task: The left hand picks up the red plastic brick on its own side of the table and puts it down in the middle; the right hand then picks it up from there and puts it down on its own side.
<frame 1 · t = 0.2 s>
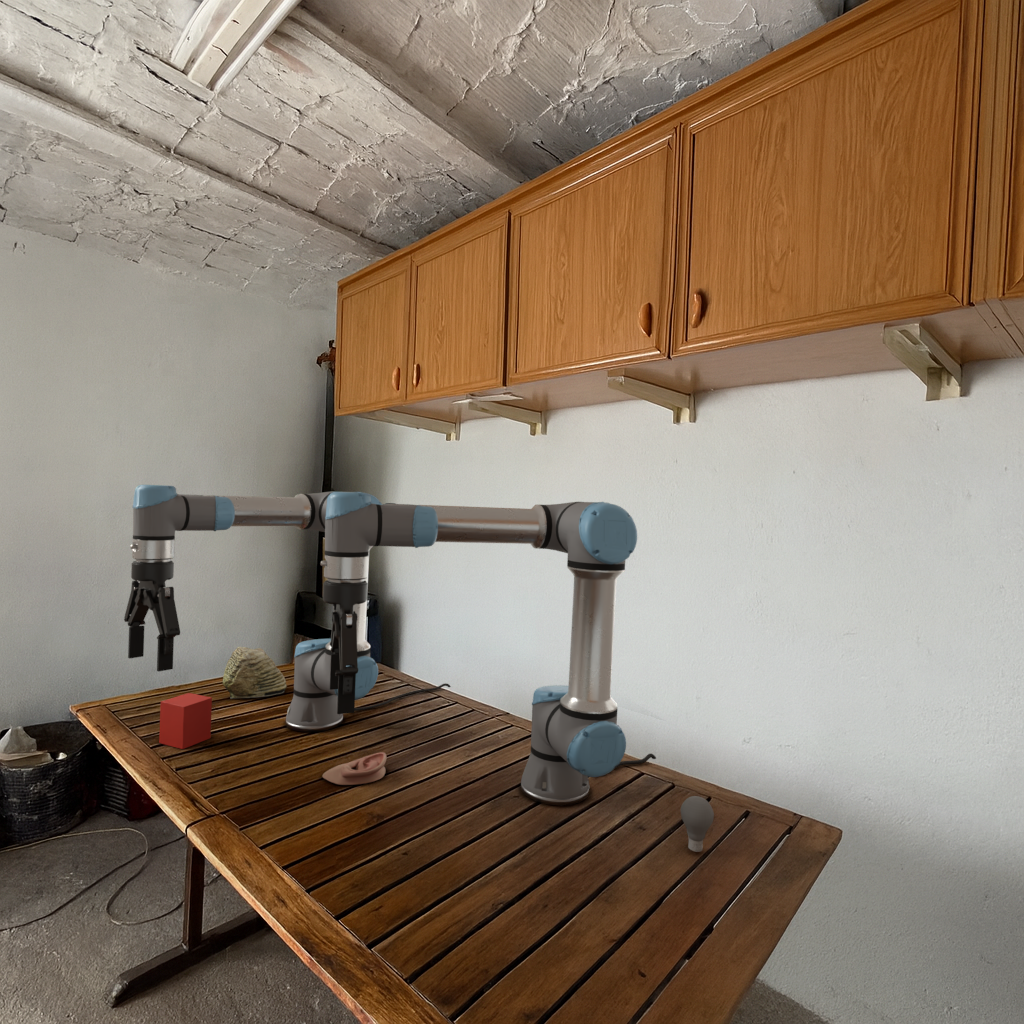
left hand: (149, 663, 130), 28 cm above the table, tool pointing down, fingers open, 13 cm apart
right hand: (341, 700, 111), 28 cm above the table, tool pointing down, fingers open, 13 cm apart
fossil: (254, 694, 198), on the table
brick: (185, 740, 160), on the table
anatomical model: (354, 775, 144), on the table
light bulb: (695, 851, 119), on the table
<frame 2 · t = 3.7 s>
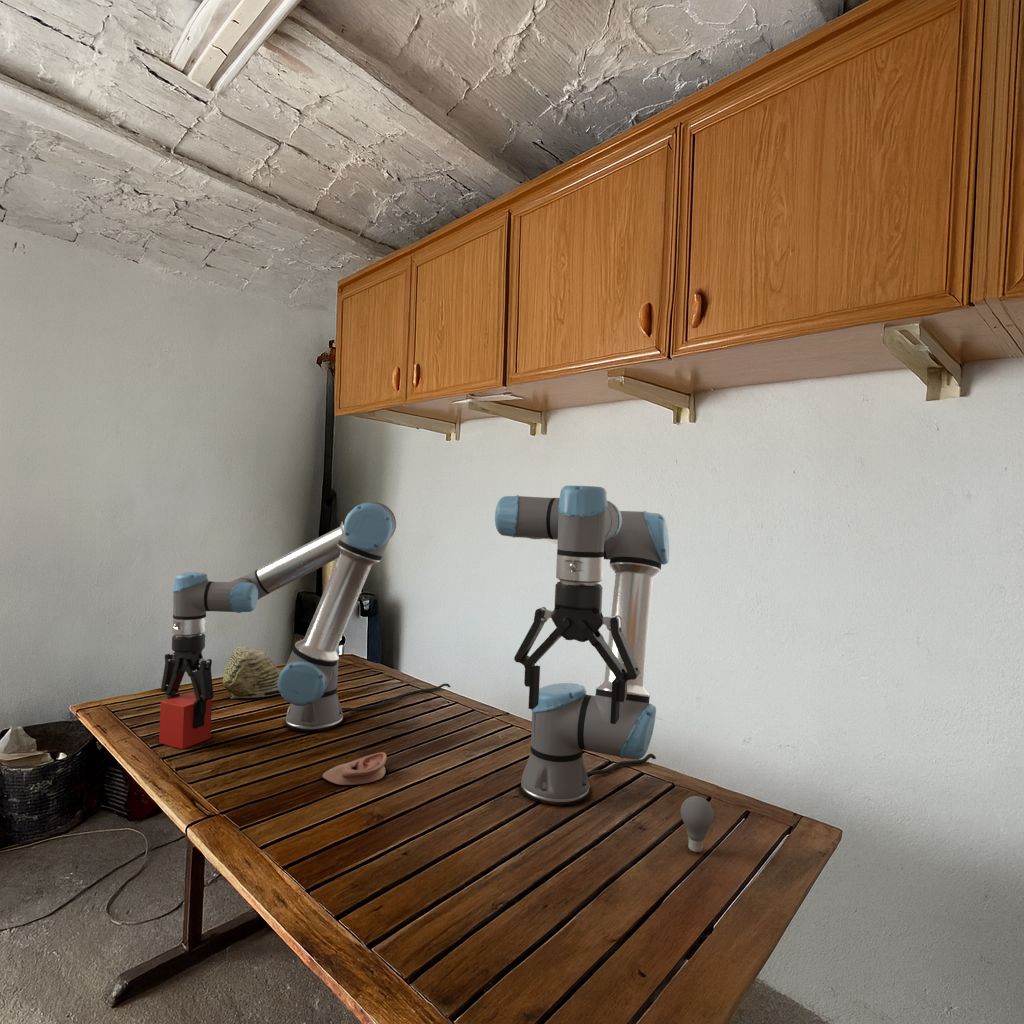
left hand: (185, 723, 160), 4 cm above the table, tool pointing down, fingers closed on brick, 8 cm apart
right hand: (573, 714, 102), 30 cm above the table, tool pointing down, fingers open, 13 cm apart
brick: (185, 740, 160), on the table, touching left hand
everything else where it was.
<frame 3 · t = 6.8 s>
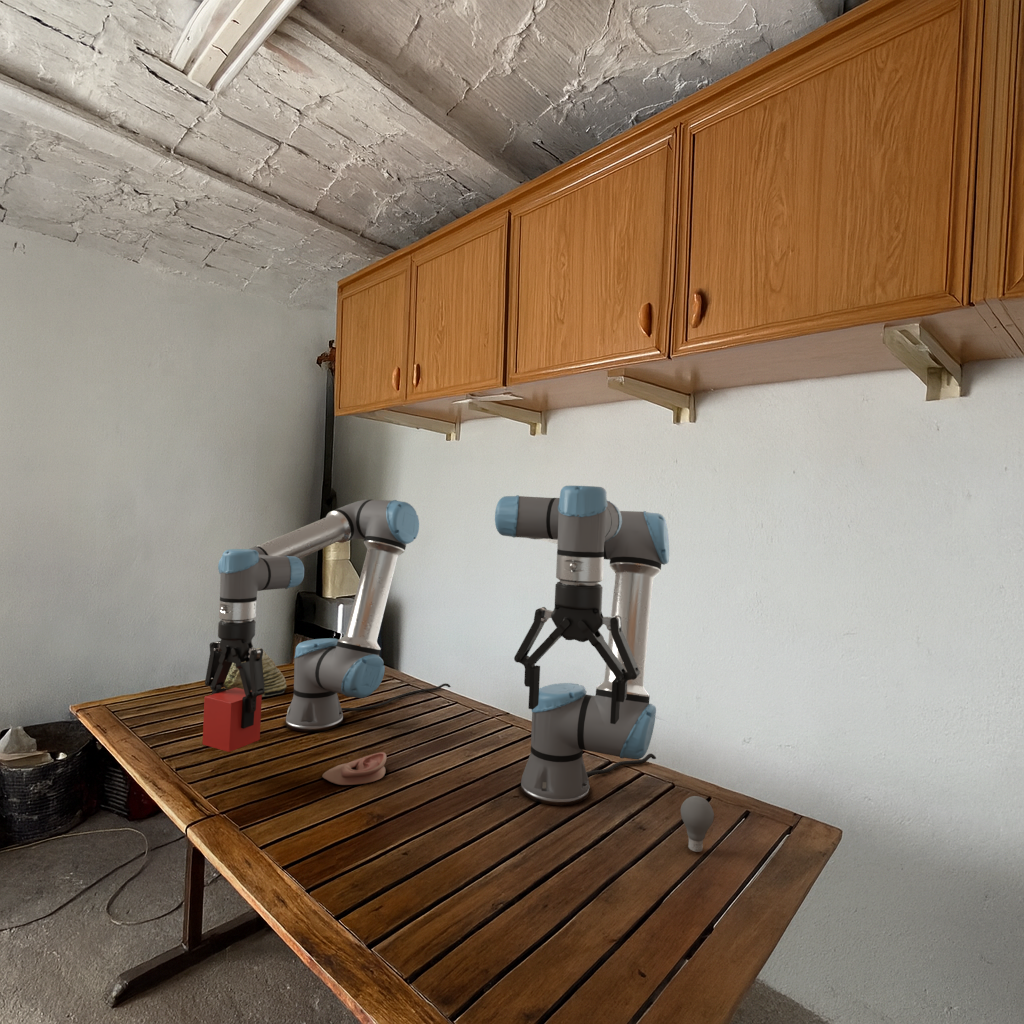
left hand: (232, 722, 139), 13 cm above the table, tool pointing down, fingers closed on brick, 8 cm apart
right hand: (573, 714, 102), 30 cm above the table, tool pointing down, fingers open, 13 cm apart
brick: (231, 742, 139), point 8 cm above the table, touching left hand
everything else where it was.
when the left hand's fingers open (6 cm above the table, at t = 10.0 s): brick drops 1 cm, on the table.
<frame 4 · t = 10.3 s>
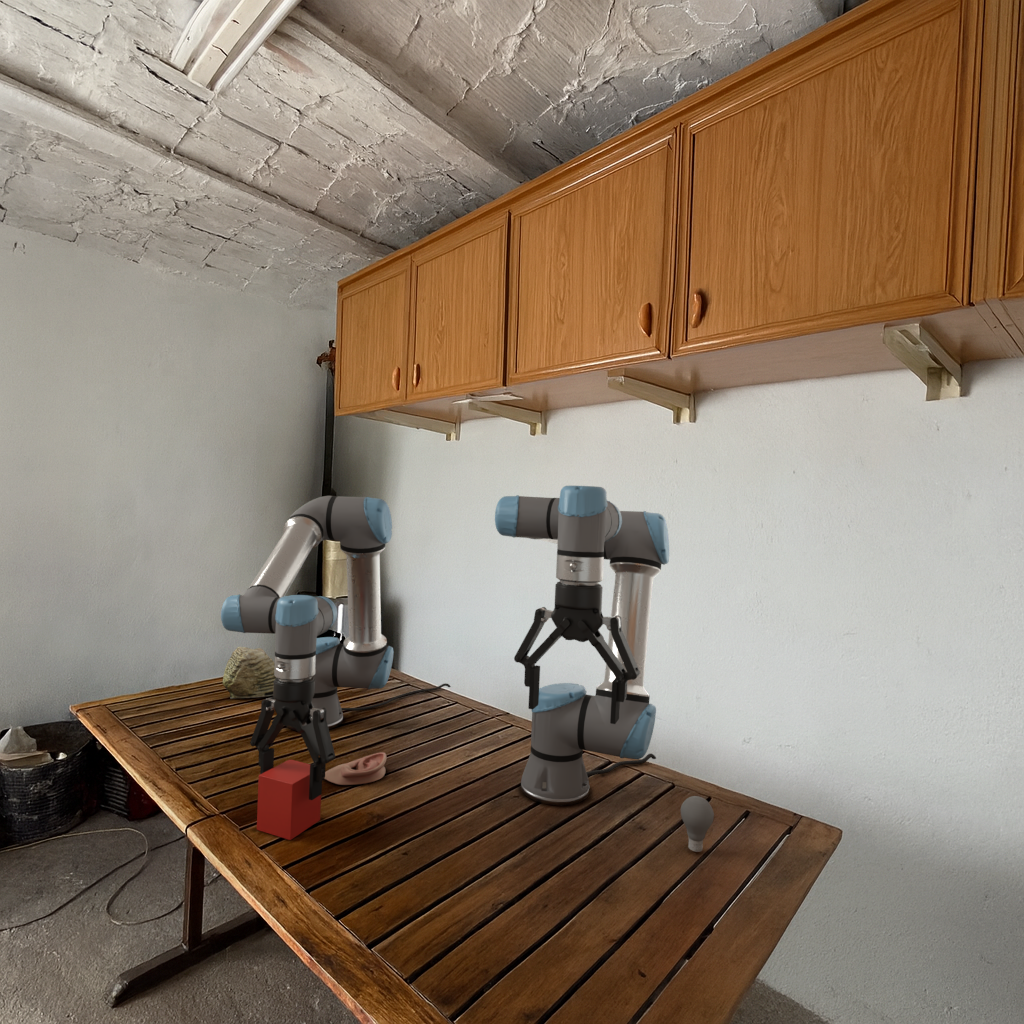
left hand: (290, 790, 122), 7 cm above the table, tool pointing down, fingers open, 11 cm apart
right hand: (573, 714, 102), 30 cm above the table, tool pointing down, fingers open, 13 cm apart
brick: (289, 824, 122), on the table
everything else where it was.
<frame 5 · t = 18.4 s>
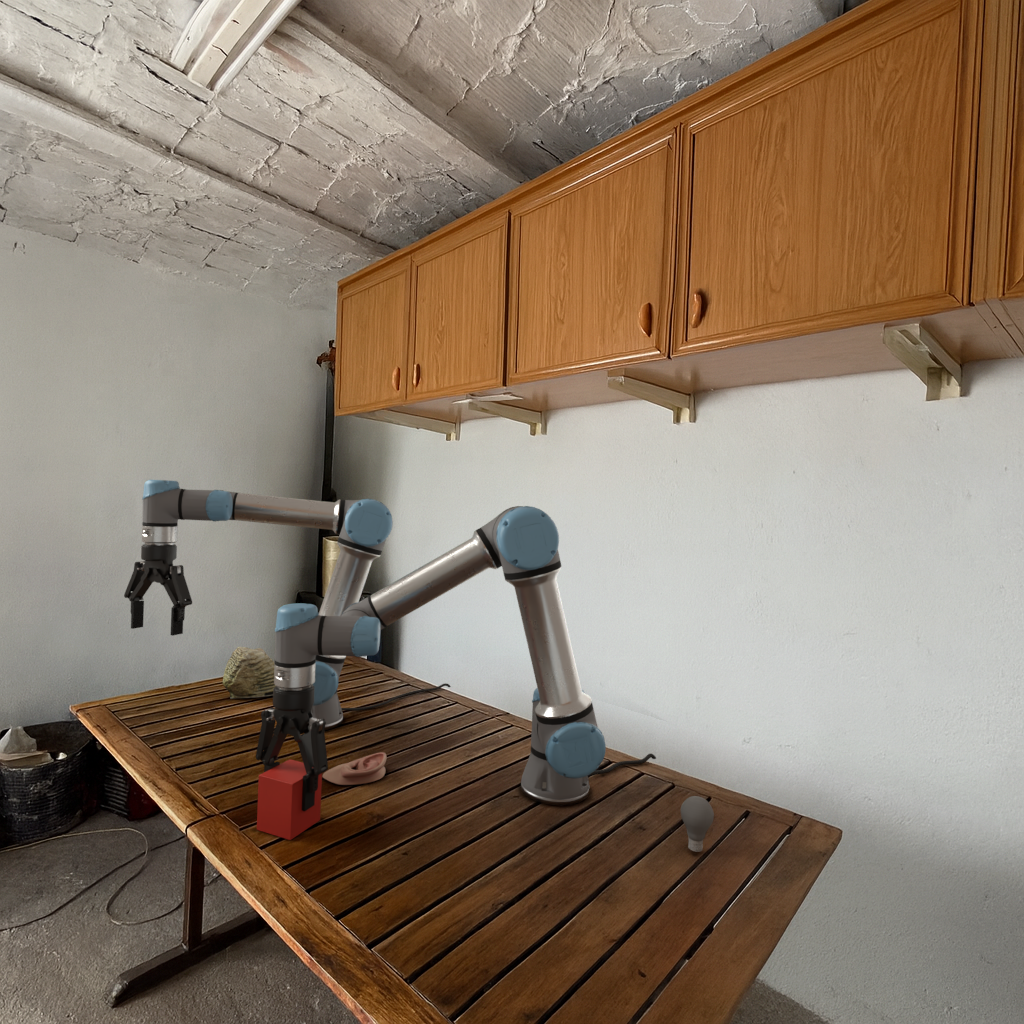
left hand: (156, 631, 153), 29 cm above the table, tool pointing down, fingers open, 13 cm apart
right hand: (289, 802, 122), 4 cm above the table, tool pointing down, fingers closed on brick, 8 cm apart
brick: (289, 824, 122), on the table, touching right hand
everything else where it was.
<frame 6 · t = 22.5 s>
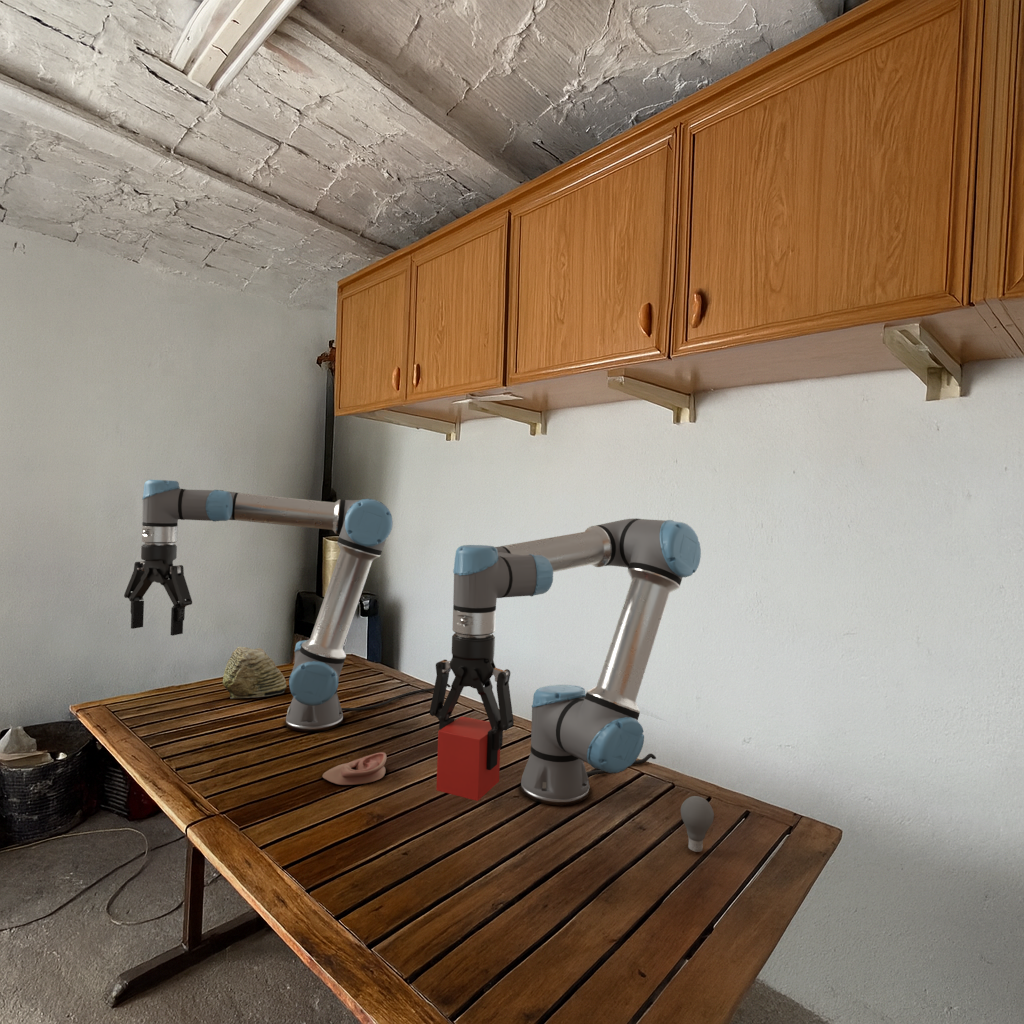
left hand: (156, 631, 153), 29 cm above the table, tool pointing down, fingers open, 13 cm apart
right hand: (469, 761, 112), 18 cm above the table, tool pointing down, fingers closed on brick, 8 cm apart
brick: (468, 785, 112), point 14 cm above the table, touching right hand
everything else where it was.
when the right hand's fingers open (6 cm above the table, at t = 26.8 s): brick drops 1 cm, on the table.
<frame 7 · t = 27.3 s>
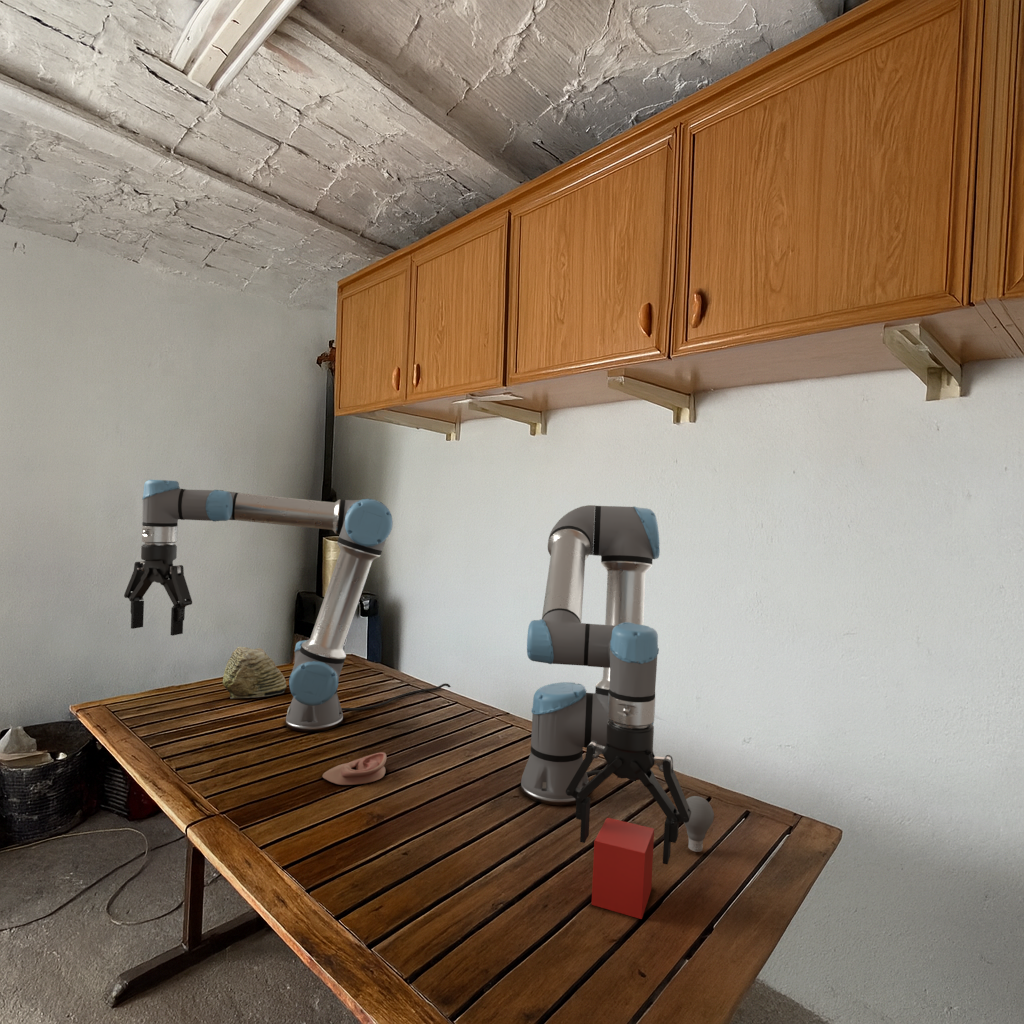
left hand: (156, 631, 153), 29 cm above the table, tool pointing down, fingers open, 13 cm apart
right hand: (624, 849, 104), 8 cm above the table, tool pointing down, fingers open, 13 cm apart
brick: (622, 897, 104), on the table
everything else where it was.
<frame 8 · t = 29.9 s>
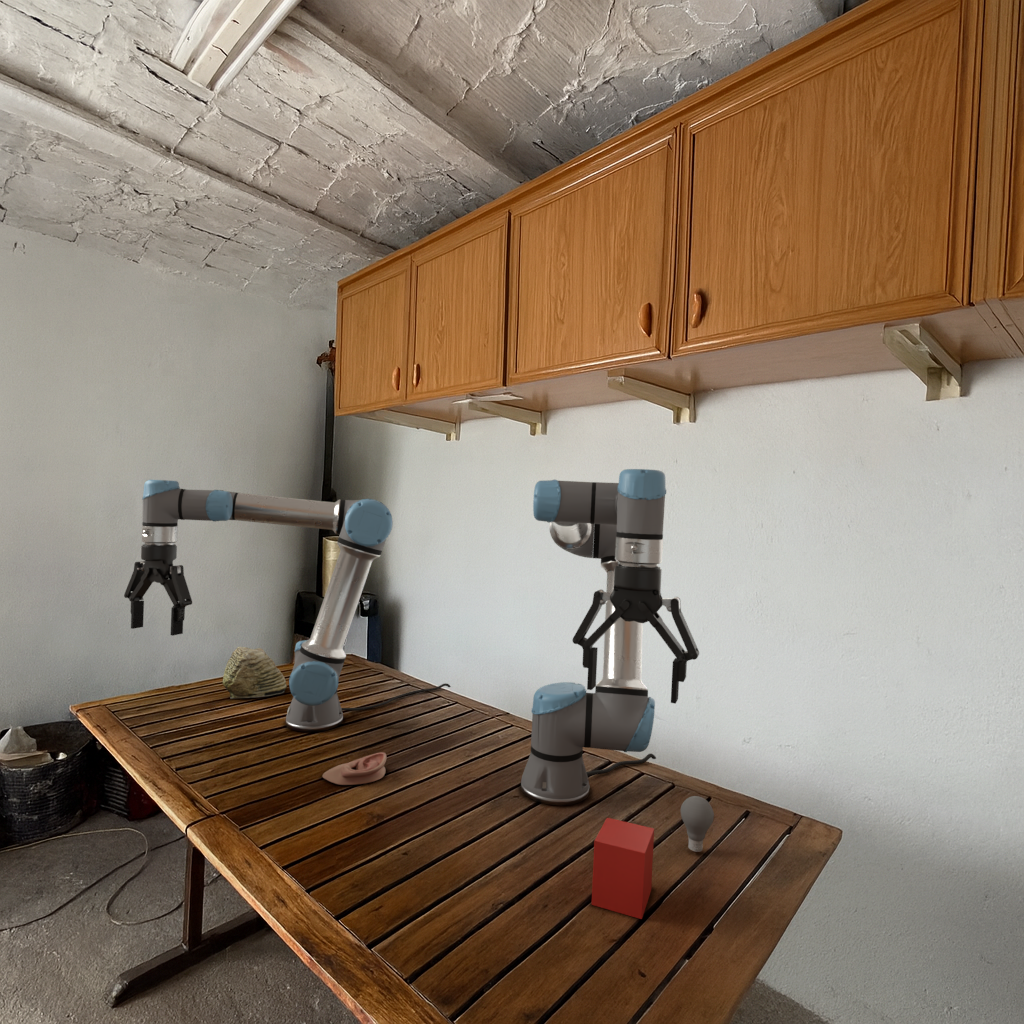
left hand: (156, 631, 153), 29 cm above the table, tool pointing down, fingers open, 13 cm apart
right hand: (631, 694, 103), 34 cm above the table, tool pointing down, fingers open, 13 cm apart
nothing on the table moved.
at the end: brick inside the target area (0.1 cm from its centre), on the table; brick tilted 0°; the two hands never held the brick at the same time; the left hand is holding nothing; the right hand is holding nothing; brick at rest at the end (0.0 cm/s) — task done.
